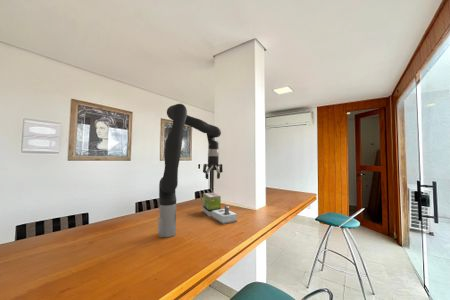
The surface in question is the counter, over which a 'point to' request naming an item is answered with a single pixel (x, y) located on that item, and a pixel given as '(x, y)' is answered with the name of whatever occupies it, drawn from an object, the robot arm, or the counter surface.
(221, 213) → the bore block
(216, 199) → the tea box
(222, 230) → the counter surface
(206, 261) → the counter surface
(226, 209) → the pin
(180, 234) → the counter surface
